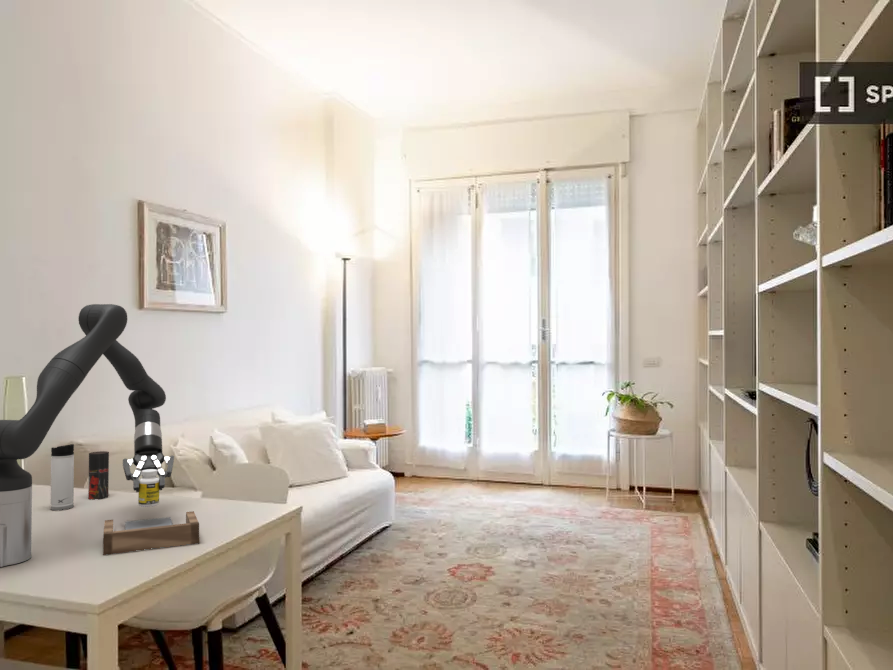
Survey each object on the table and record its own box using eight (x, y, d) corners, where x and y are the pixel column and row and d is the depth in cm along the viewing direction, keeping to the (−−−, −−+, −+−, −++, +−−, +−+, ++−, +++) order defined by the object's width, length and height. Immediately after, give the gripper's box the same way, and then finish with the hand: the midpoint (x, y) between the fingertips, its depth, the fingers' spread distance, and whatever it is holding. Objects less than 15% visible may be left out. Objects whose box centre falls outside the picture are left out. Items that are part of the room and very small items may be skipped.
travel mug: (64, 511, 205) (64, 446, 205) (45, 510, 206) (46, 445, 206) (79, 506, 211) (79, 443, 211) (61, 505, 212) (61, 442, 212)
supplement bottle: (146, 508, 185) (146, 473, 185) (134, 505, 187) (134, 470, 187) (163, 504, 189) (163, 469, 189) (151, 501, 192) (151, 467, 192)
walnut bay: (104, 539, 175) (104, 520, 175) (193, 529, 185) (193, 511, 185) (103, 555, 162) (103, 534, 162) (199, 543, 172) (199, 523, 172)
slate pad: (125, 523, 191) (125, 521, 191) (170, 518, 196) (170, 516, 196) (125, 534, 180) (125, 532, 180) (173, 528, 185) (173, 527, 185)
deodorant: (112, 497, 224) (112, 452, 224) (94, 500, 219) (95, 454, 219) (102, 494, 227) (102, 450, 227) (84, 498, 222) (85, 453, 222)
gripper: (121, 434, 192) (120, 484, 181) (174, 431, 198) (177, 479, 187) (121, 450, 197) (120, 499, 186) (173, 447, 203) (176, 494, 192)
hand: (149, 489), depth 187 cm, fingers closed on supplement bottle, 5 cm apart
